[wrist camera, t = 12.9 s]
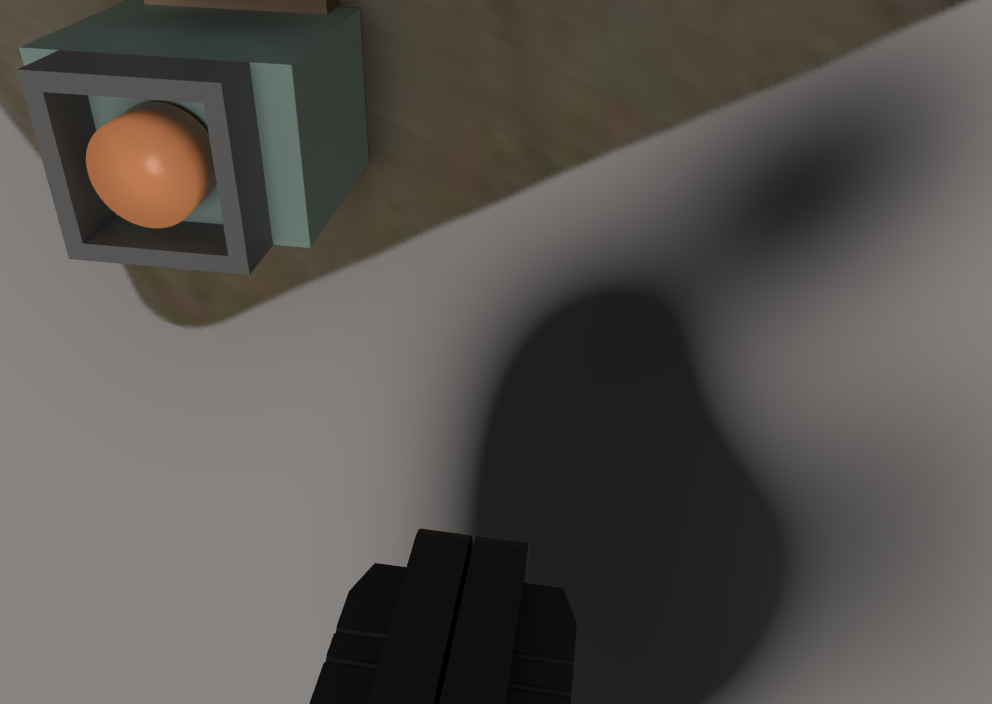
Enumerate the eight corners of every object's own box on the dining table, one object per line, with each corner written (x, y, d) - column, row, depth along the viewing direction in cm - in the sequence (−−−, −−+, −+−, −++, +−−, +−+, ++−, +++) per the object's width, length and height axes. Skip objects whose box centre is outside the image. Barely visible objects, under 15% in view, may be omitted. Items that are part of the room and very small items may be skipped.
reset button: (103, 98, 31) (73, 115, 30) (210, 105, 31) (186, 124, 29) (126, 201, 33) (100, 223, 32) (227, 209, 33) (205, 232, 31)
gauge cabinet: (129, -6, 38) (-38, 65, 29) (360, 8, 37) (265, 86, 28) (158, 147, 42) (20, 254, 33) (369, 163, 41) (289, 278, 32)
